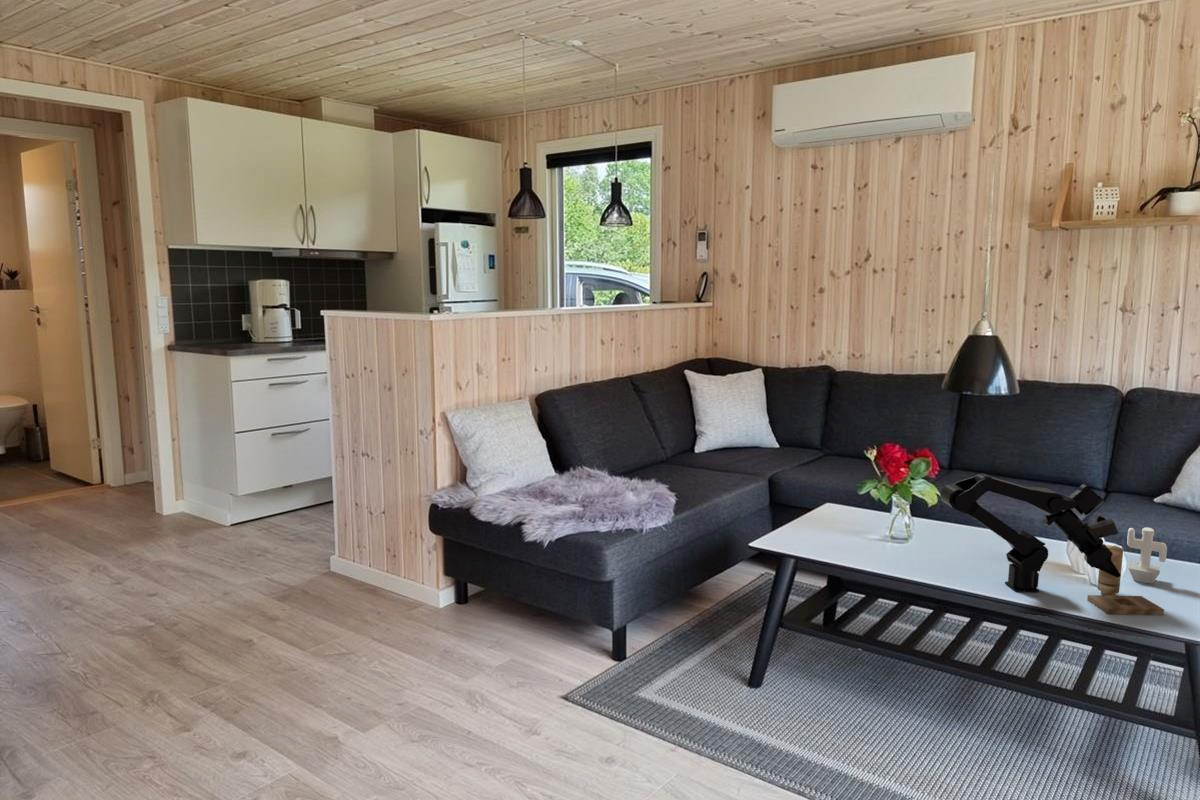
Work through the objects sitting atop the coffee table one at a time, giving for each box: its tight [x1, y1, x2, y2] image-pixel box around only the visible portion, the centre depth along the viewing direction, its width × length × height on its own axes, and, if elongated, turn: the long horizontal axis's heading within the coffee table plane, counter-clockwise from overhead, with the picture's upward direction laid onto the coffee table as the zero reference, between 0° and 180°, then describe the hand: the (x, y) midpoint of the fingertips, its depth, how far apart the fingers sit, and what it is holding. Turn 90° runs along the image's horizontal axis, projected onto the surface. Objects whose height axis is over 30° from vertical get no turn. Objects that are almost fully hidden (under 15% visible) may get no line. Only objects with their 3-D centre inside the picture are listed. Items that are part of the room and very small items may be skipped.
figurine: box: [1126, 526, 1168, 585], centre depth 230 cm, size 7×9×15 cm
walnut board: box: [1087, 594, 1165, 616], centre depth 211 cm, size 14×9×2 cm, turn 89°
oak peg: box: [1096, 544, 1124, 596], centre depth 219 cm, size 5×5×13 cm
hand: (1116, 571), depth 218 cm, fingers open, 8 cm apart
